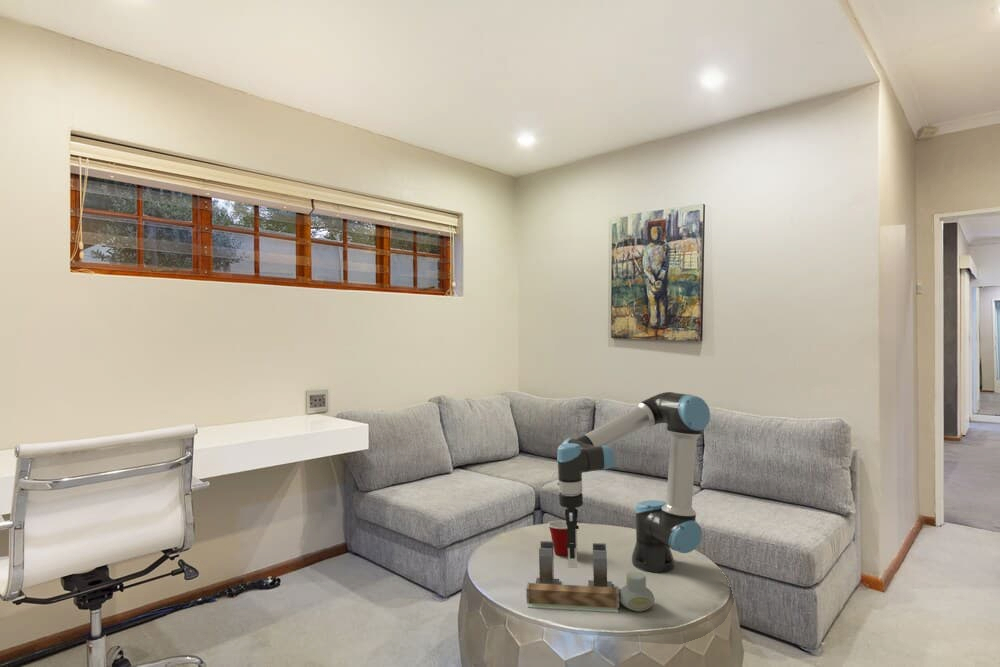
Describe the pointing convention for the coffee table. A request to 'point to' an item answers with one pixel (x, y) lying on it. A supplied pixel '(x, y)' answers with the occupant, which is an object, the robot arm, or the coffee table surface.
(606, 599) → the rail
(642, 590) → the air freshener
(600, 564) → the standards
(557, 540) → the plastic cup
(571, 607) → the mat
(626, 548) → the coffee table surface
